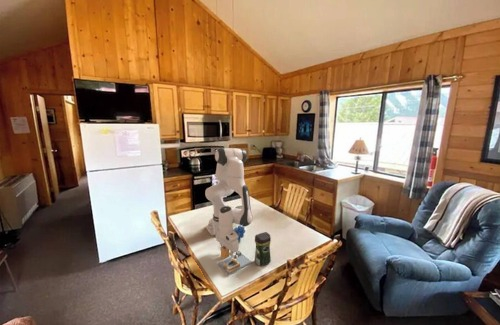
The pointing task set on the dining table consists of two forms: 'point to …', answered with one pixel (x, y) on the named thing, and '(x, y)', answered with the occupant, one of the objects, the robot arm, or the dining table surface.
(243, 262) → the routing panel
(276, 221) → the dining table surface
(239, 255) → the routed cable
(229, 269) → the bracket
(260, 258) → the coffee jar
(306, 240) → the dining table surface
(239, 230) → the grapes
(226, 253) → the block
